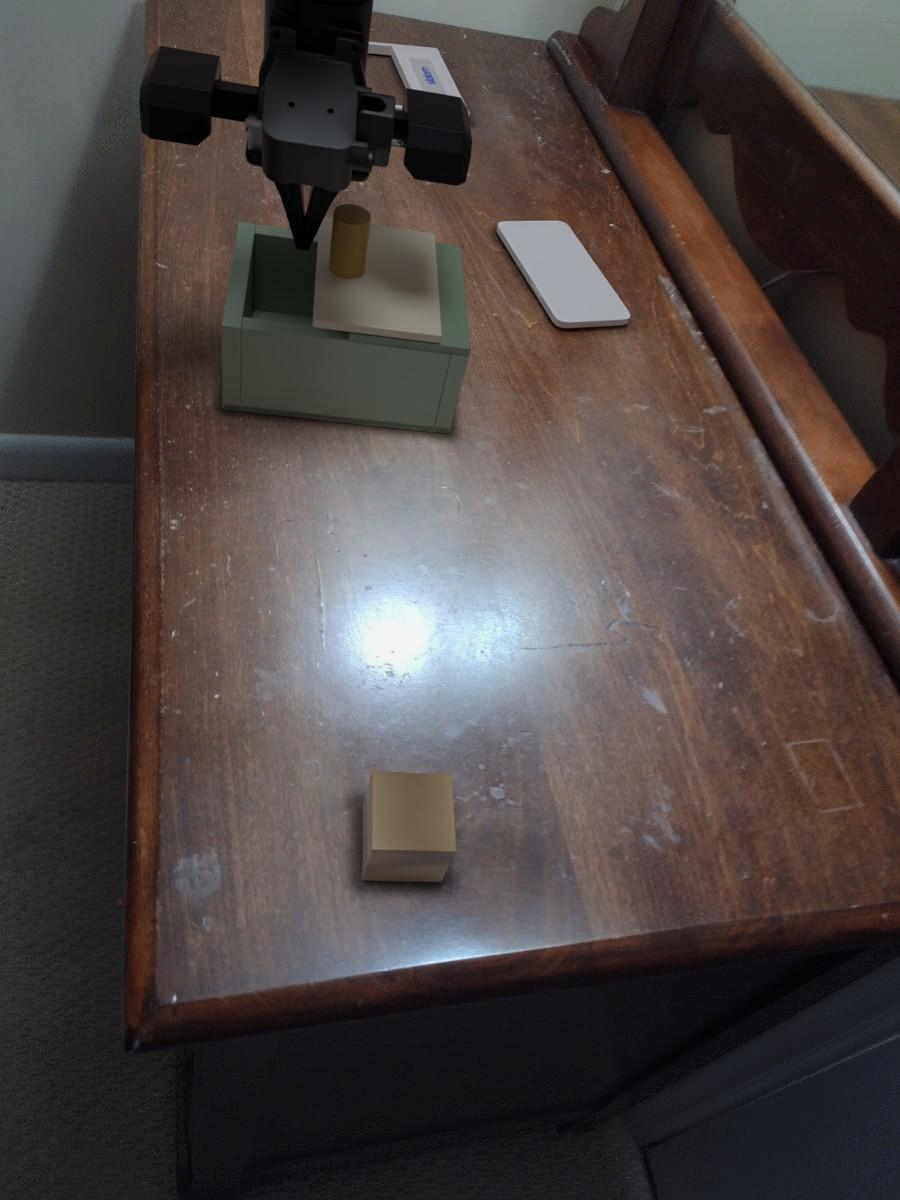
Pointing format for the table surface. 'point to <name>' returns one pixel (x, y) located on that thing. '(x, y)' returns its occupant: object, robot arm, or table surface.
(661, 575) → the table surface
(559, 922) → the table surface
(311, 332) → the storage box
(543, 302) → the smartphone
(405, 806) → the maple block
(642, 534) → the table surface
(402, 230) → the slide door
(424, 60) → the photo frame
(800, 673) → the table surface
